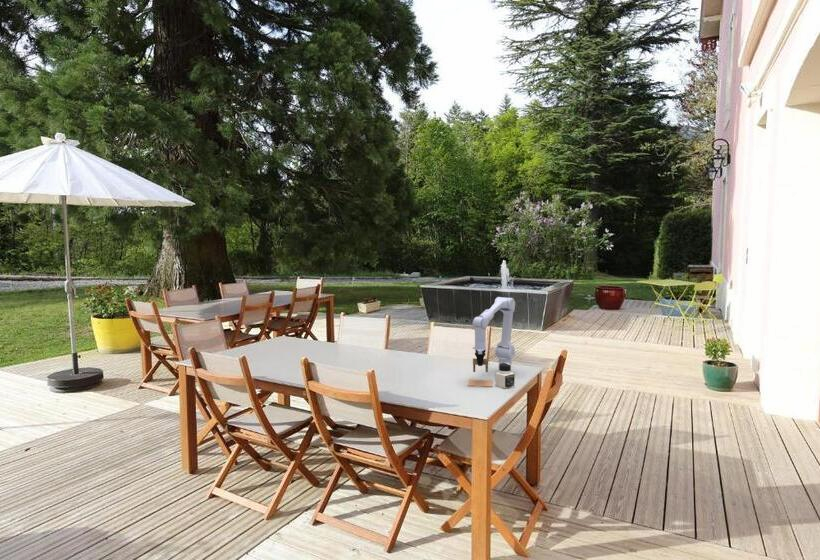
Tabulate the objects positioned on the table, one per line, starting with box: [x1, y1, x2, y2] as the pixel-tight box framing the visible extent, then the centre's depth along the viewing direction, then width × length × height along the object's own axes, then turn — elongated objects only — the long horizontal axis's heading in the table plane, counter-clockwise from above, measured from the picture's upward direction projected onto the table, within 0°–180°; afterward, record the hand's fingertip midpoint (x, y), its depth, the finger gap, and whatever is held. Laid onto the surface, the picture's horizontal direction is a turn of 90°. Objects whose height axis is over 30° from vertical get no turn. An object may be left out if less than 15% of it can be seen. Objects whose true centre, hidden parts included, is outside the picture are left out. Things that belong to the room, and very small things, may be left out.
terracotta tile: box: [467, 379, 494, 388], centre depth 282 cm, size 11×13×1 cm
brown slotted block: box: [472, 358, 489, 373], centre depth 282 cm, size 5×8×6 cm, turn 84°
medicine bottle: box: [495, 363, 515, 390], centre depth 277 cm, size 7×7×12 cm
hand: (480, 364), depth 282 cm, fingers closed on brown slotted block, 5 cm apart
